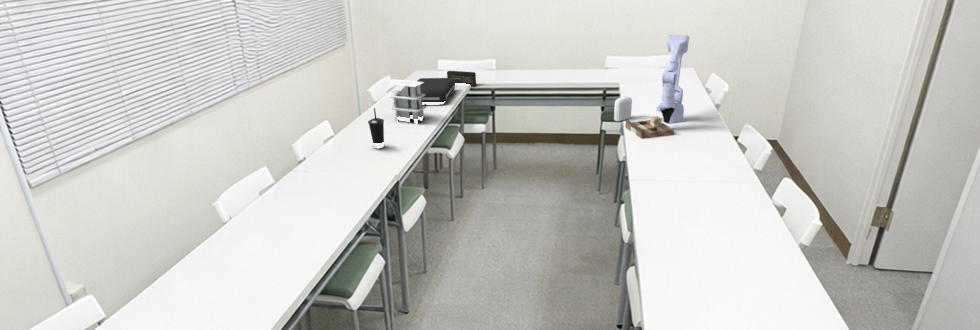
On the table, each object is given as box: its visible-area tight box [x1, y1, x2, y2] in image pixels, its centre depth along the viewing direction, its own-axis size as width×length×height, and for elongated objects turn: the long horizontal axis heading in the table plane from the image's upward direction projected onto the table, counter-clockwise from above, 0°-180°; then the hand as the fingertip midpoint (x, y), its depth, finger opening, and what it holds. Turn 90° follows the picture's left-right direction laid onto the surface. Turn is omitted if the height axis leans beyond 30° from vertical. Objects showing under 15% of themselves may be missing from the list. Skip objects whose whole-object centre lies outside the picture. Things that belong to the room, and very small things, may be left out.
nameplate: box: [446, 70, 477, 88], centre depth 389 cm, size 21×2×10 cm, turn 65°
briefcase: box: [416, 77, 456, 102], centre depth 363 cm, size 36×32×10 cm
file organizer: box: [388, 78, 427, 119], centre depth 318 cm, size 26×35×22 cm
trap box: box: [625, 119, 675, 139], centre depth 286 cm, size 17×18×4 cm
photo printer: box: [613, 95, 633, 122], centre depth 304 cm, size 10×4×12 cm, turn 123°
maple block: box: [649, 115, 663, 127], centre depth 285 cm, size 4×4×4 cm
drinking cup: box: [367, 107, 385, 144], centre depth 278 cm, size 8×8×20 cm
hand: (666, 122), depth 287 cm, fingers closed
